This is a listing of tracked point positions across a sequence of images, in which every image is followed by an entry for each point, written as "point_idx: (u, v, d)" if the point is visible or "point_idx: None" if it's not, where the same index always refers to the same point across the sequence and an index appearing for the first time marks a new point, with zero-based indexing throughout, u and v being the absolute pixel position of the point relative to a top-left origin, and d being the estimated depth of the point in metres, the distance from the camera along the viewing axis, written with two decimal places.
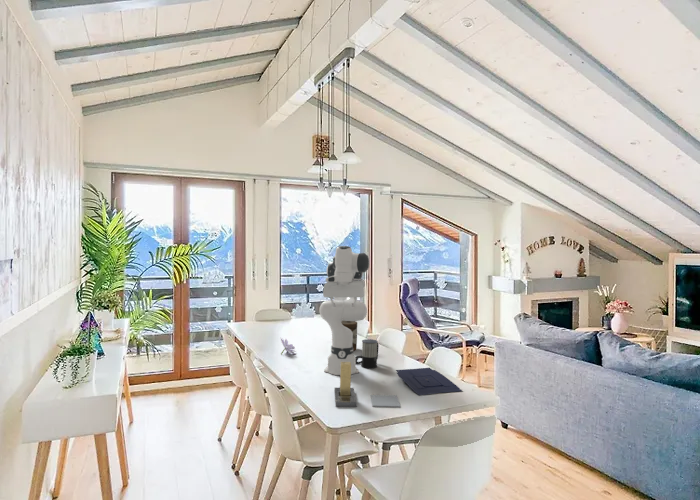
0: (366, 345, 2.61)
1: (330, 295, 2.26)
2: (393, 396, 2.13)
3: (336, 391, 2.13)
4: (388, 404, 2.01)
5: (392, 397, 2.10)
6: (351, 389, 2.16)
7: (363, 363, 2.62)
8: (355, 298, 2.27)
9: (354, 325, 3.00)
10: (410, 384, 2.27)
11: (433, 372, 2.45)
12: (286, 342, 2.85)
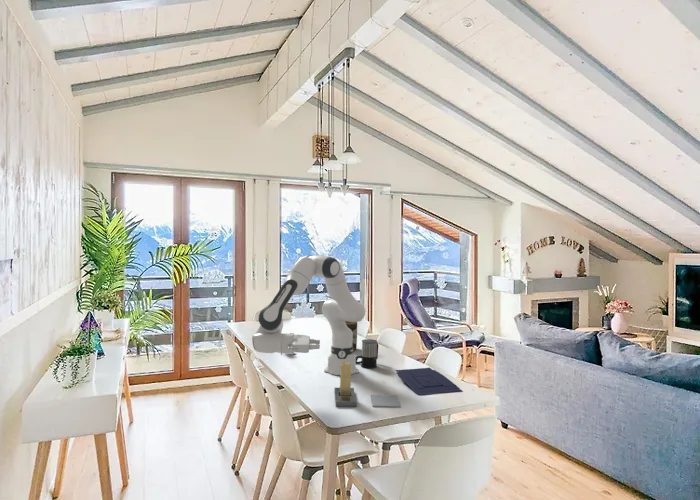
0: (366, 345, 2.61)
1: None
2: (393, 396, 2.13)
3: (336, 391, 2.13)
4: (388, 404, 2.01)
5: (392, 397, 2.10)
6: (351, 389, 2.16)
7: (363, 363, 2.62)
8: None
9: (354, 325, 3.00)
10: (410, 384, 2.27)
11: (433, 372, 2.45)
12: None
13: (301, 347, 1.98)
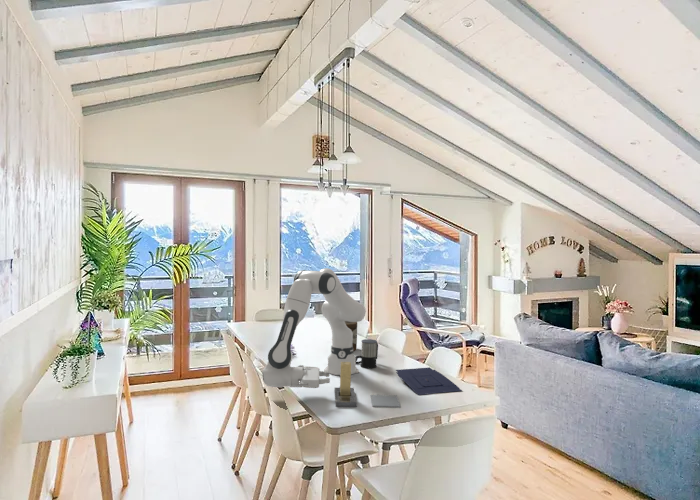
0: (366, 345, 2.61)
1: None
2: (393, 396, 2.13)
3: (336, 391, 2.13)
4: (388, 404, 2.01)
5: (392, 397, 2.10)
6: (351, 389, 2.16)
7: (362, 363, 2.62)
8: None
9: (354, 325, 3.00)
10: (410, 384, 2.27)
11: (433, 372, 2.45)
12: None
13: (311, 382, 1.99)
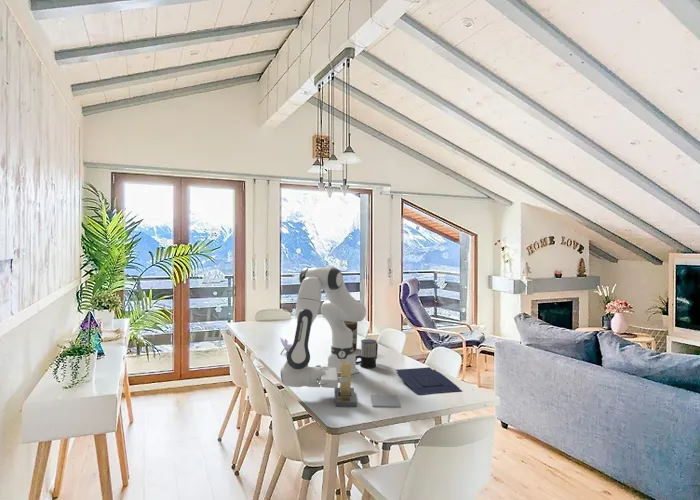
0: (365, 345, 2.61)
1: None
2: (393, 396, 2.13)
3: (336, 391, 2.13)
4: (388, 404, 2.01)
5: (392, 397, 2.10)
6: (351, 389, 2.16)
7: (362, 363, 2.62)
8: None
9: (354, 325, 3.00)
10: (410, 384, 2.28)
11: (433, 372, 2.45)
12: (286, 342, 2.85)
13: (330, 382, 1.99)
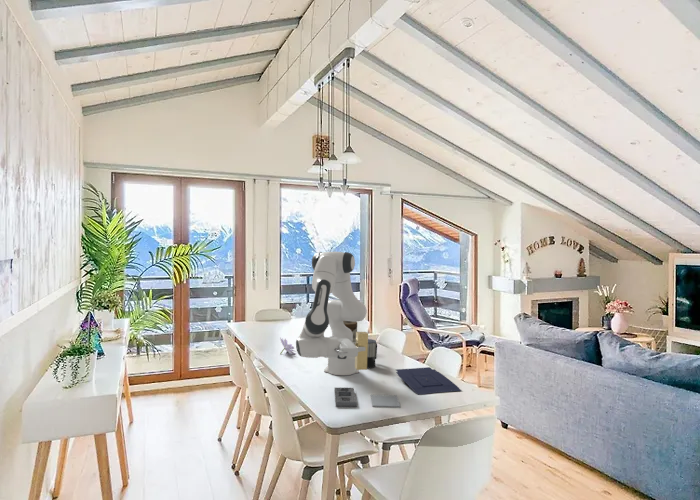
0: None
1: None
2: (393, 396, 2.13)
3: (336, 391, 2.13)
4: (388, 404, 2.01)
5: (392, 397, 2.10)
6: (351, 389, 2.16)
7: None
8: None
9: (354, 325, 3.00)
10: (409, 383, 2.28)
11: (433, 372, 2.45)
12: (285, 342, 2.85)
13: (351, 351, 1.96)
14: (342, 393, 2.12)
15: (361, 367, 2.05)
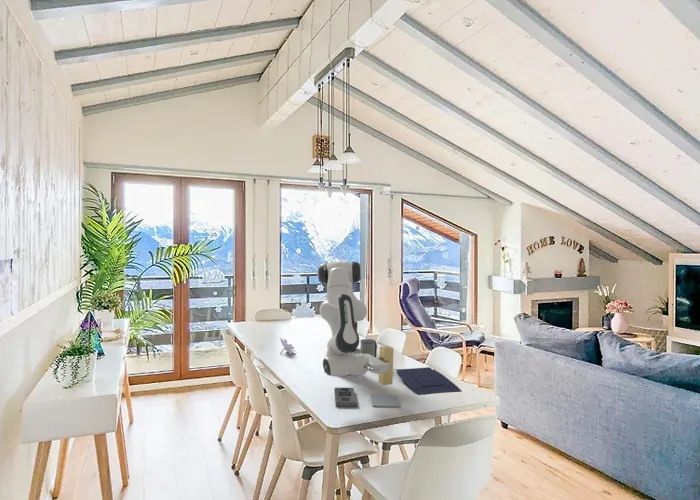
0: (364, 345, 2.61)
1: None
2: (393, 396, 2.13)
3: (336, 391, 2.13)
4: (388, 404, 2.01)
5: (392, 397, 2.10)
6: (351, 389, 2.16)
7: None
8: None
9: None
10: (409, 383, 2.28)
11: (433, 372, 2.46)
12: (285, 342, 2.85)
13: (382, 367, 1.94)
14: (342, 393, 2.12)
15: (387, 382, 2.04)
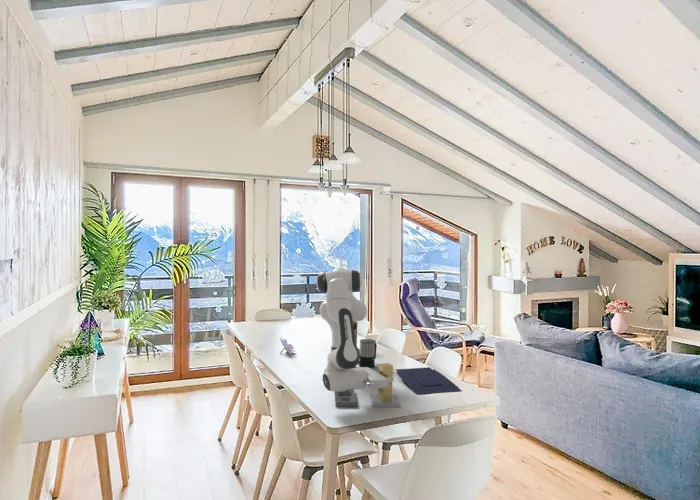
0: (364, 345, 2.61)
1: None
2: (393, 396, 2.13)
3: (336, 391, 2.13)
4: (388, 404, 2.01)
5: (392, 397, 2.10)
6: None
7: (361, 363, 2.63)
8: None
9: (354, 325, 3.00)
10: (409, 383, 2.28)
11: (433, 372, 2.46)
12: (285, 342, 2.85)
13: (382, 382, 1.95)
14: (342, 393, 2.12)
15: (386, 399, 2.05)
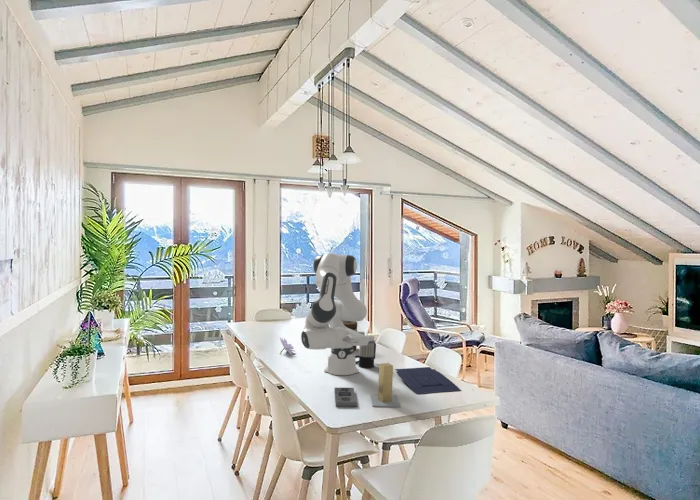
0: None
1: None
2: (393, 396, 2.13)
3: (336, 391, 2.13)
4: (388, 404, 2.01)
5: (392, 397, 2.10)
6: (351, 389, 2.16)
7: (360, 363, 2.63)
8: None
9: (354, 325, 3.00)
10: (409, 383, 2.29)
11: (433, 371, 2.46)
12: (285, 342, 2.86)
13: (362, 340, 1.90)
14: (342, 393, 2.12)
15: (386, 399, 2.05)
